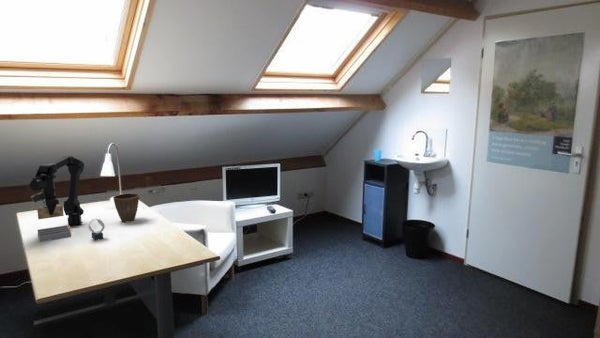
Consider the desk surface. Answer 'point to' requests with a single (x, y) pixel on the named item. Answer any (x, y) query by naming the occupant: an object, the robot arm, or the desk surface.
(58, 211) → the panel
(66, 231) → the rack
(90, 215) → the desk surface
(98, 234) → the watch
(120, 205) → the plant pot
